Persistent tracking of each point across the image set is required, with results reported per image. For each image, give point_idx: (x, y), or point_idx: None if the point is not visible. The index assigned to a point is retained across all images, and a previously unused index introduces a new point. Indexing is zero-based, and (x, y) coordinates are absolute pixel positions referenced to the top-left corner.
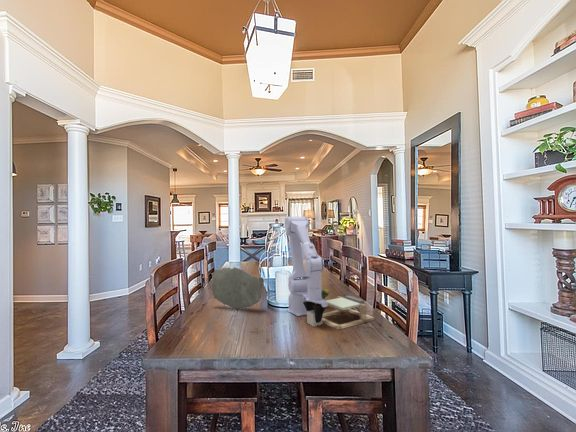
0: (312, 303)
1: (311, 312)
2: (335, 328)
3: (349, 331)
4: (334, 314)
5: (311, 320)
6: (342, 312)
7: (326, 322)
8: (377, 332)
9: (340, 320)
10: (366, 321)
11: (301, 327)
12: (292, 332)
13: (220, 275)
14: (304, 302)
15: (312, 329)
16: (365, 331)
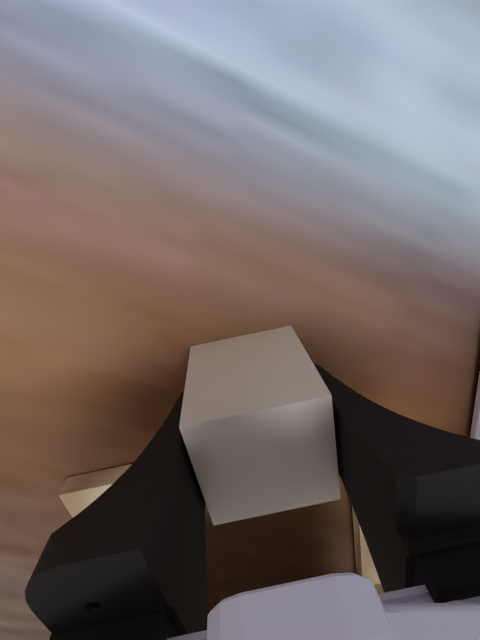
0: (384, 557)
1: (256, 427)
2: (95, 472)
3: (22, 523)
4: (355, 544)
5: (222, 364)
6: None
7: None
8: None
9: (239, 539)
10: None
11: (208, 232)
12: (86, 57)
13: None
14: (464, 479)
15: (124, 312)
16: (8, 587)
